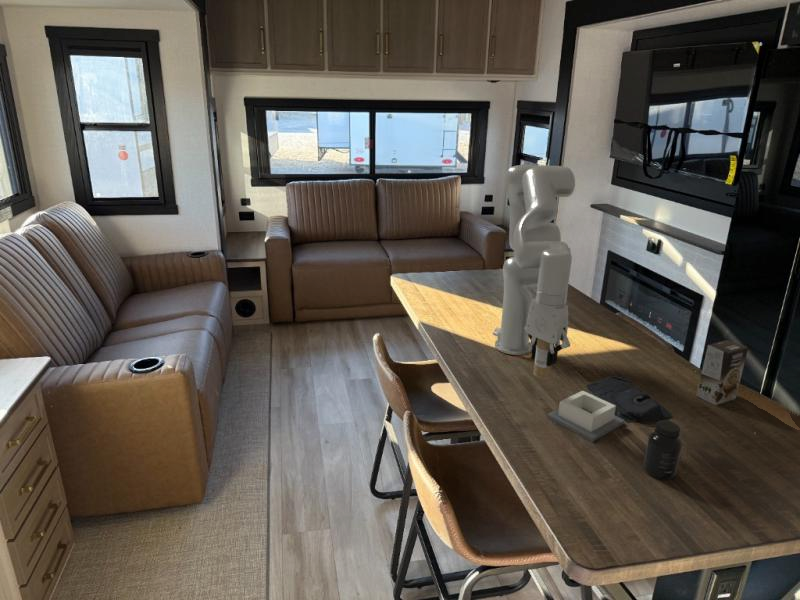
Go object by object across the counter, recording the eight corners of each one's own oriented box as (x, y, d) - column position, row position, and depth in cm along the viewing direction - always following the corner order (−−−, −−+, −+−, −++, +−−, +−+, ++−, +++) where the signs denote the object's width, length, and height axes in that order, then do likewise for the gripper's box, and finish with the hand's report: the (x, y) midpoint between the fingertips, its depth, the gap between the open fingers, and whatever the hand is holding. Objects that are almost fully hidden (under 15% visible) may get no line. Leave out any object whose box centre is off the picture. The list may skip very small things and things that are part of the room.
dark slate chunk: (628, 382, 171) (631, 368, 169) (675, 421, 151) (678, 405, 149) (581, 386, 168) (583, 371, 166) (622, 426, 148) (625, 410, 146)
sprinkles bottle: (553, 376, 153) (559, 330, 148) (541, 380, 151) (547, 334, 146) (541, 369, 156) (546, 324, 152) (529, 373, 154) (534, 328, 149)
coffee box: (716, 406, 158) (728, 353, 152) (695, 395, 163) (706, 344, 157) (736, 399, 162) (749, 347, 156) (715, 389, 167) (727, 338, 161)
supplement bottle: (637, 462, 132) (645, 417, 128) (665, 461, 133) (674, 416, 129) (652, 481, 126) (661, 434, 122) (681, 480, 126) (691, 433, 122)
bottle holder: (546, 417, 150) (548, 400, 149) (578, 401, 158) (580, 385, 157) (592, 441, 140) (595, 424, 138) (624, 423, 148) (627, 406, 146)
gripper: (516, 290, 149) (509, 353, 156) (569, 310, 137) (560, 377, 144) (534, 285, 154) (527, 346, 160) (588, 304, 141) (578, 369, 148)
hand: (543, 360), depth 152 cm, fingers closed on sprinkles bottle, 4 cm apart
